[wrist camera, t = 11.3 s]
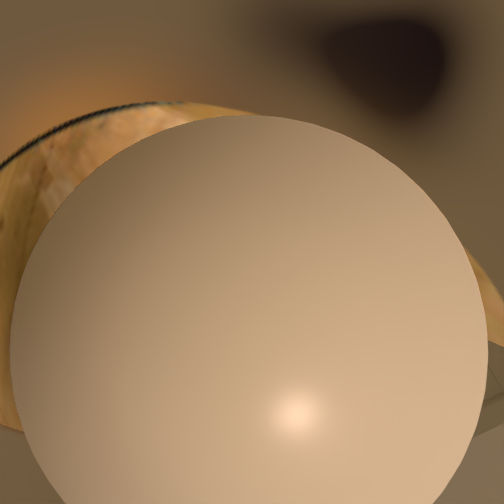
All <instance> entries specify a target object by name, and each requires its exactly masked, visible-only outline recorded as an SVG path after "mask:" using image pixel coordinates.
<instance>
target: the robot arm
mask: <svg viewBox="0 0 504 504" xmlns="http://www.w3.org/2000/svg"><path fill="white" fill-rule="evenodd" d="M487 341H488V340H487ZM0 504H66V503H65V502H64V501H63V500H62V498H61V497H60V496H59V494H58V493H57V492H56V490H55V489H54V488H53V486H52V485H51V484H50V482H49V481H48V479H47V478H46V476H45V474H44V473H43V471H42V469H41V467H40V466H39V464H38V462H37V460H36V458H35V457H34V454H33V452H32V450H31V448H30V445H29V443H28V441H27V438H26V436H25V433H24V432H23V431H20V430H17V429H14V428H11V427H8V426H5V425H2V424H0ZM433 504H504V347H502V346H500V345H497V344H495V343H493V342H491V341H488V366H487V378H486V388H485V394H484V399H483V403H482V407H481V411H480V415H479V419H478V422H477V426H476V429H475V431H474V434H473V436H472V439H471V441H470V444H469V446H468V448H467V451H466V453H465V455H464V457H463V459H462V461H461V463H460V465H459V467H458V468H457V470H456V472H455V473H454V475H453V476H452V478H451V480H450V481H449V483H448V484H447V486H446V487H445V489H444V490H443V492H442V493H441V494H440V496H439V497H438V498H437V499H436V500H435V501H434V503H433Z"/></svg>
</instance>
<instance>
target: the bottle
mask: <svg viewBox="0 0 504 504" xmlns="http://www.w3.org/2000/svg"><path fill="white" fill-rule="evenodd" d="M487 366H488V341H487V328H486V317H485V313H484V308H483V304H482V299H481V295H480V291H479V287H478V283H477V280H476V277H475V275H474V272H473V270H472V267H471V265H470V262H469V260H468V258H467V255H466V253H465V250H464V248H463V246H462V245H461V243H460V241H459V239H458V238H457V236H456V234H455V233H454V231H453V230H452V228H451V226H450V225H449V223H448V221H447V219H446V218H445V217H444V215H443V214H442V213H441V212H440V210H439V209H438V208H437V207H436V205H435V204H434V203H433V202H432V200H431V199H430V198H429V197H428V196H427V195H426V193H425V192H424V191H423V190H422V189H421V188H420V187H419V186H418V185H417V184H416V183H415V182H414V181H413V180H411V179H410V178H409V177H408V176H407V175H406V174H405V173H404V172H403V171H402V170H400V169H399V168H398V167H396V166H395V165H394V164H392V163H391V162H390V161H388V160H387V159H385V158H384V157H382V156H381V155H379V154H378V153H377V152H375V151H374V150H372V149H370V148H369V147H366V146H365V145H363V144H361V143H359V142H357V141H355V140H353V139H351V138H349V137H347V136H345V135H343V134H340V133H337V132H335V131H332V130H329V129H326V128H323V127H320V126H317V125H315V124H311V123H306V122H301V121H297V120H292V119H287V118H282V117H271V116H259V115H240V116H222V117H216V118H209V119H203V120H198V121H193V122H190V123H186V124H182V125H179V126H176V127H172V128H169V129H166V130H164V131H161V132H159V133H156V134H154V135H152V136H149V137H147V138H145V139H143V140H141V141H139V142H137V143H135V144H133V145H132V146H130V147H128V148H126V149H125V150H123V151H121V152H119V153H118V154H116V155H115V156H114V157H112V158H111V159H109V160H108V161H107V162H105V163H104V164H102V165H101V166H100V167H98V168H97V169H96V170H95V171H94V172H93V173H91V174H90V175H89V176H88V177H87V178H86V179H85V180H84V181H83V182H82V183H80V184H79V185H78V186H77V187H76V189H75V190H74V191H73V192H72V193H71V194H70V195H69V196H68V197H67V199H66V200H65V201H64V202H63V203H62V204H61V206H60V207H59V208H58V210H57V211H56V212H55V214H54V215H53V217H52V218H51V220H50V221H49V222H48V224H47V225H46V227H45V228H44V230H43V232H42V234H41V236H40V237H39V239H38V241H37V243H36V245H35V247H34V249H33V250H32V253H31V255H30V257H29V260H28V262H27V265H26V267H25V270H24V272H23V275H22V278H21V281H20V285H19V288H18V292H17V296H16V299H15V304H14V310H13V316H12V322H11V333H10V370H11V381H12V387H13V393H14V398H15V404H16V408H17V411H18V415H19V418H20V421H21V425H22V428H23V431H24V433H25V436H26V438H27V441H28V443H29V445H30V448H31V450H32V452H33V454H34V457H35V458H36V460H37V462H38V464H39V466H40V467H41V469H42V471H43V473H44V474H45V476H46V478H47V479H48V481H49V482H50V484H51V485H52V486H53V488H54V489H55V490H56V492H57V493H58V494H59V496H60V497H61V498H62V500H63V501H64V502H65V503H66V504H433V503H434V501H435V500H436V499H437V498H438V497H439V496H440V494H441V493H442V492H443V490H444V489H445V487H446V486H447V484H448V483H449V481H450V480H451V478H452V476H453V475H454V473H455V472H456V470H457V468H458V467H459V465H460V463H461V461H462V459H463V457H464V455H465V453H466V451H467V448H468V446H469V444H470V441H471V439H472V436H473V434H474V431H475V429H476V426H477V422H478V419H479V415H480V411H481V407H482V403H483V399H484V394H485V388H486V378H487Z"/></svg>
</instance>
